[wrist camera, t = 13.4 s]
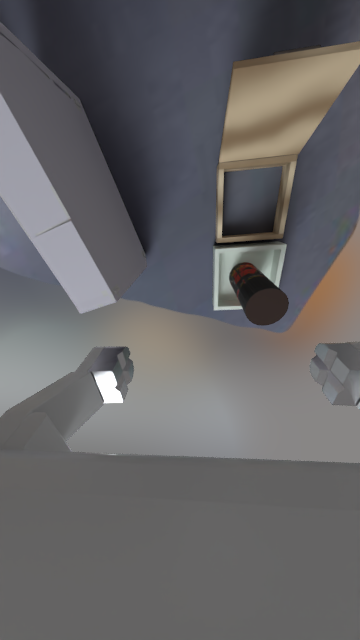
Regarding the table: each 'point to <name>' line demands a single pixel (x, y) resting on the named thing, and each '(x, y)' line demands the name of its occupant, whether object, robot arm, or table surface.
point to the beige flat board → (283, 99)
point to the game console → (62, 182)
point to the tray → (227, 256)
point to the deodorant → (257, 294)
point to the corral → (283, 197)
